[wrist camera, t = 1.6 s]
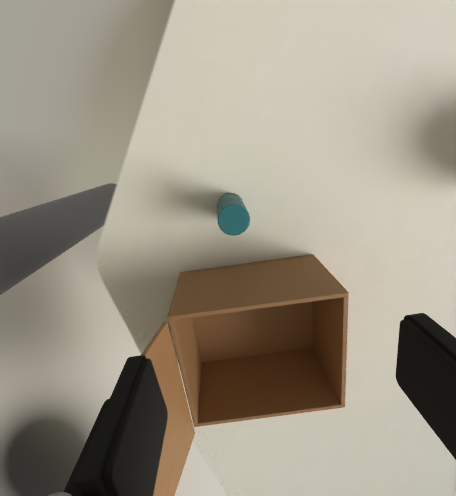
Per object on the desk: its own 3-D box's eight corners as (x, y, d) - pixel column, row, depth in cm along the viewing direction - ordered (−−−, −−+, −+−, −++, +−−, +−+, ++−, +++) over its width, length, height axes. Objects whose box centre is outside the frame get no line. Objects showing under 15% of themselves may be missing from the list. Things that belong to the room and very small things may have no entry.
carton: (199, 362, 34) (194, 427, 26) (180, 272, 30) (167, 316, 22) (315, 347, 34) (345, 407, 26) (313, 254, 29) (348, 292, 22)
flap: (194, 433, 25) (192, 433, 26) (167, 322, 21) (163, 322, 21) (161, 535, 19) (157, 534, 19) (111, 404, 15) (106, 403, 15)
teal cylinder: (219, 219, 28) (220, 237, 22) (215, 194, 27) (215, 206, 21) (244, 216, 28) (251, 233, 22) (241, 191, 27) (248, 202, 21)
